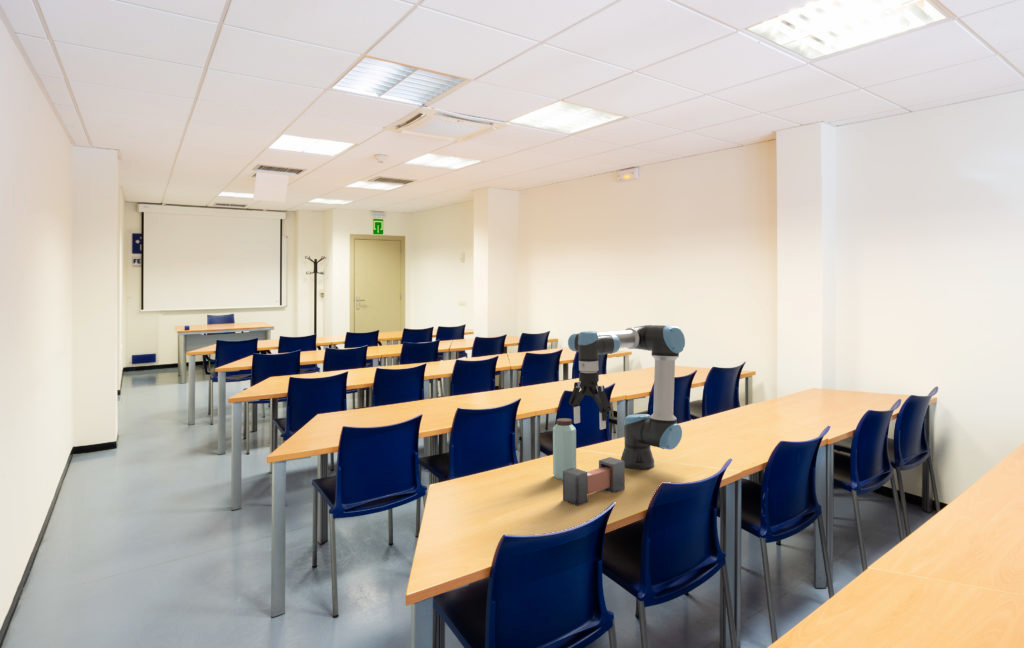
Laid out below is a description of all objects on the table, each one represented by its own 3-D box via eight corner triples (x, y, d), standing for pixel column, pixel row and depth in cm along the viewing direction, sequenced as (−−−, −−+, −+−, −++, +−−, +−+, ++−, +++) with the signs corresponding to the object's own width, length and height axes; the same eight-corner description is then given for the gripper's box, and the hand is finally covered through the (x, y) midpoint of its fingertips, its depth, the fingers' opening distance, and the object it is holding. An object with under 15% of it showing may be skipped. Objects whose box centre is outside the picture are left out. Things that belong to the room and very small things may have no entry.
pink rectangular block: (611, 481, 223) (611, 464, 223) (618, 484, 220) (618, 466, 220) (580, 491, 212) (580, 473, 212) (587, 494, 209) (587, 475, 209)
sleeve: (610, 484, 226) (610, 457, 225) (624, 489, 220) (624, 461, 219) (599, 488, 221) (598, 460, 221) (613, 493, 216) (612, 464, 215)
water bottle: (575, 481, 230) (574, 422, 229) (551, 480, 232) (551, 421, 231) (577, 474, 240) (576, 417, 239) (554, 472, 242) (554, 417, 241)
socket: (573, 496, 212) (573, 467, 212) (587, 502, 207) (587, 472, 206) (563, 500, 209) (562, 470, 208) (576, 505, 203) (576, 475, 202)
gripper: (559, 369, 218) (560, 422, 220) (606, 375, 199) (607, 433, 200) (572, 367, 223) (573, 419, 224) (620, 373, 204) (620, 429, 205)
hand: (589, 425), depth 212 cm, fingers open, 13 cm apart
